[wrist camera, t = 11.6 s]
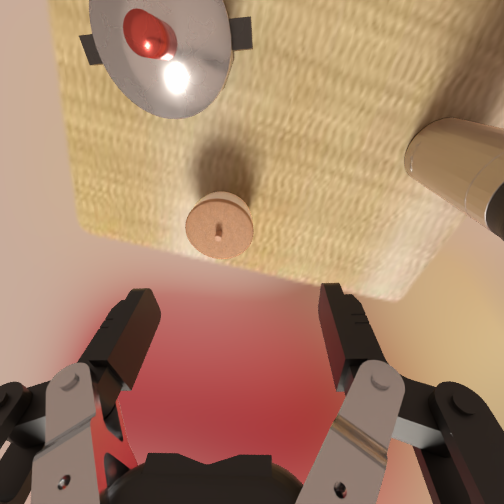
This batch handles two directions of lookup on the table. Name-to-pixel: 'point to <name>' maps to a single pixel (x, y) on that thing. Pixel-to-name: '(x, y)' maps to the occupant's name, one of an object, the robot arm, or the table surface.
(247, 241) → the lidded jar
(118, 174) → the table surface
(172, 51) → the lid
